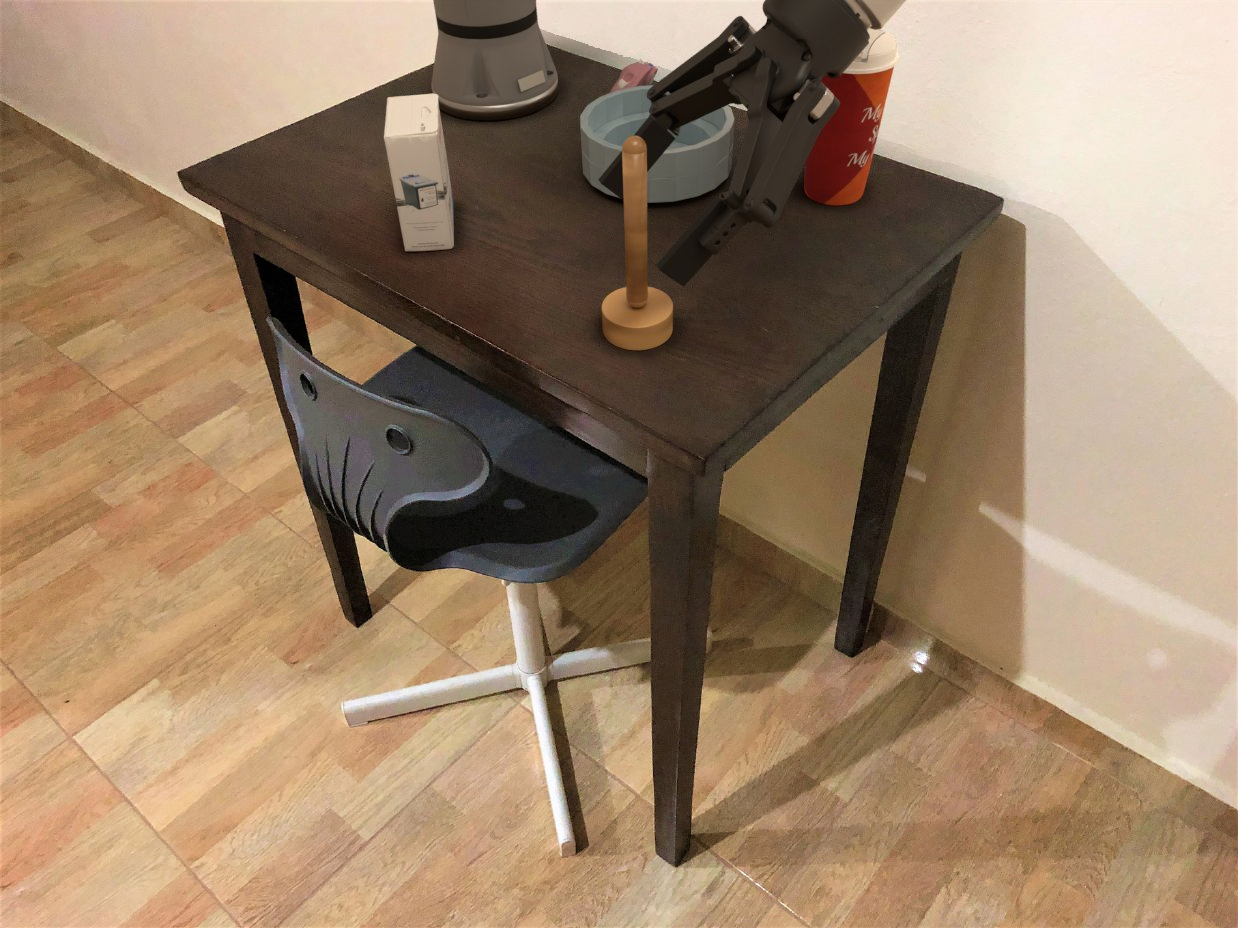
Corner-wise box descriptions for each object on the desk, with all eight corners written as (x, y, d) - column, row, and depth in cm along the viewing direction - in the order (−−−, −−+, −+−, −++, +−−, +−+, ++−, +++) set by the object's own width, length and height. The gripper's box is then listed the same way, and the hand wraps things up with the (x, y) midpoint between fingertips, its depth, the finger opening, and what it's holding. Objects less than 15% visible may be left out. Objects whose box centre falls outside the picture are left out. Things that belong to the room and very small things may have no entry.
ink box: (407, 208, 95) (384, 95, 87) (457, 204, 95) (438, 90, 87) (405, 254, 89) (379, 137, 80) (458, 249, 89) (437, 132, 81)
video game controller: (614, 147, 106) (639, 96, 101) (581, 124, 106) (604, 73, 101) (645, 110, 113) (670, 61, 107) (613, 89, 112) (637, 39, 107)
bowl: (554, 169, 100) (549, 115, 96) (664, 125, 106) (665, 72, 102) (647, 226, 91) (646, 169, 87) (761, 175, 98) (766, 119, 93)
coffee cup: (874, 214, 91) (902, 60, 81) (790, 208, 93) (807, 55, 82) (875, 173, 97) (902, 24, 87) (795, 168, 98) (812, 20, 88)
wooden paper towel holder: (588, 326, 80) (576, 135, 68) (642, 300, 82) (639, 111, 70) (632, 360, 76) (628, 165, 64) (687, 331, 79) (692, 138, 67)
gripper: (962, 100, 59) (732, 341, 67) (788, -21, 76) (620, 182, 83) (904, 26, 54) (663, 295, 62) (732, -85, 71) (558, 136, 79)
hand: (638, 230), depth 73 cm, fingers open, 13 cm apart
